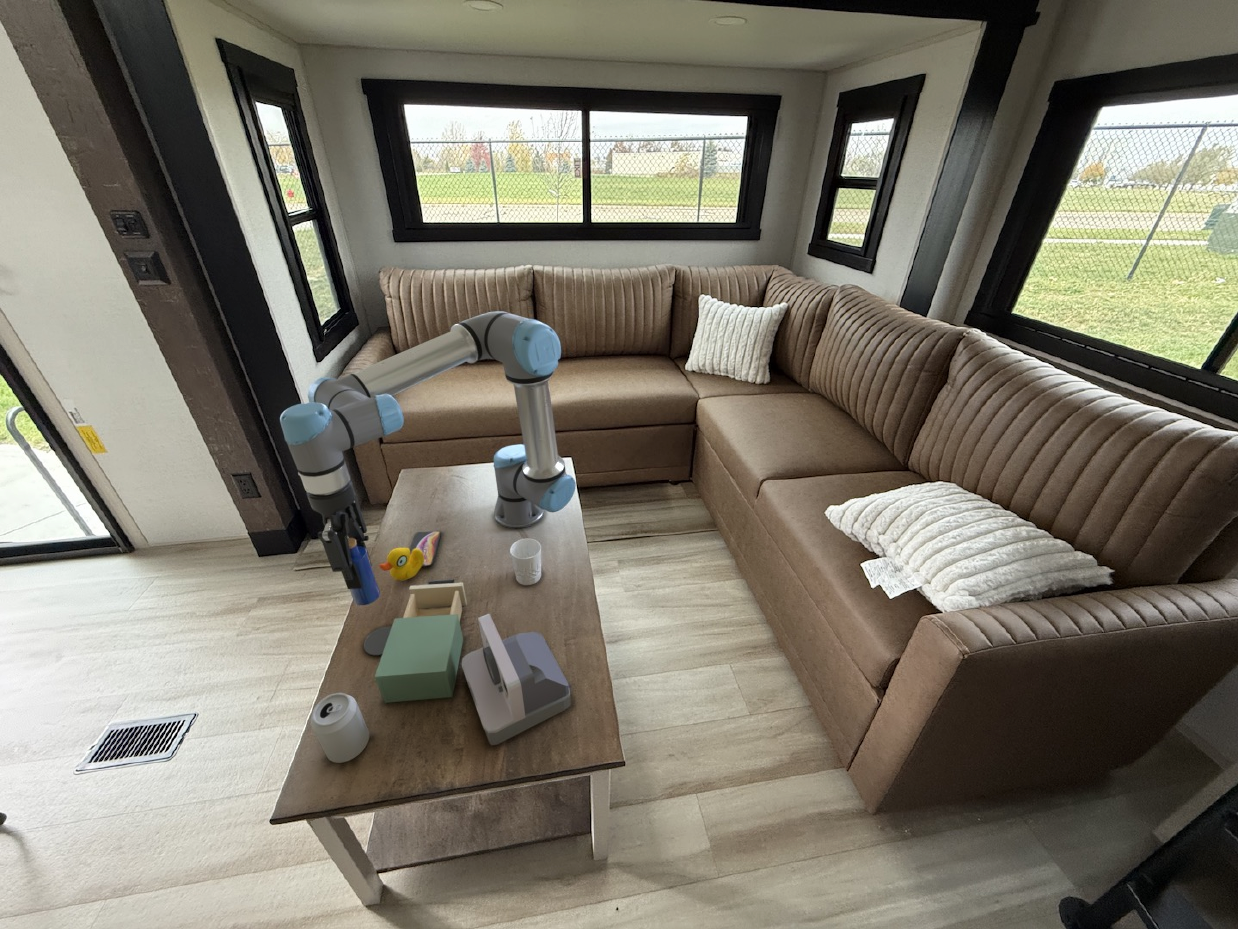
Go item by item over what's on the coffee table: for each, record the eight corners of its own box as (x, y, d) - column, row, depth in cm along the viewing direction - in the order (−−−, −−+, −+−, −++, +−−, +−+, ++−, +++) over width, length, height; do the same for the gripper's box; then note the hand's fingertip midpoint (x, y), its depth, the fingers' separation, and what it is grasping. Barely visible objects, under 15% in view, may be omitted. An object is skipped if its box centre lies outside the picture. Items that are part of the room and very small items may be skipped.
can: (336, 727, 97) (318, 690, 91) (376, 724, 98) (360, 687, 92) (320, 767, 91) (299, 730, 85) (362, 764, 92) (345, 726, 85)
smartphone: (441, 530, 147) (431, 565, 135) (442, 532, 148) (432, 567, 135) (415, 531, 146) (403, 567, 134) (416, 534, 147) (403, 569, 134)
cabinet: (402, 644, 114) (394, 618, 110) (463, 639, 116) (457, 614, 111) (384, 703, 102) (374, 677, 97) (452, 697, 103) (445, 671, 99)
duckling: (394, 594, 127) (384, 567, 121) (382, 584, 130) (372, 557, 124) (431, 568, 135) (424, 541, 129) (419, 559, 137) (411, 532, 132)
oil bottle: (383, 586, 109) (365, 533, 101) (375, 604, 105) (357, 550, 97) (358, 588, 109) (339, 534, 101) (350, 606, 104) (329, 551, 96)
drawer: (419, 593, 126) (414, 573, 123) (469, 589, 128) (465, 570, 124) (401, 651, 111) (394, 631, 108) (458, 647, 113) (453, 626, 109)
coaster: (370, 628, 118) (370, 627, 118) (405, 626, 119) (405, 625, 118) (359, 657, 111) (358, 656, 111) (396, 654, 112) (396, 653, 112)
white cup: (537, 589, 129) (535, 560, 124) (509, 584, 131) (505, 556, 125) (547, 568, 136) (545, 540, 131) (520, 564, 137) (516, 536, 132)
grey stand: (462, 662, 110) (451, 615, 103) (552, 636, 117) (549, 590, 109) (474, 753, 94) (462, 706, 86) (579, 717, 100) (577, 670, 92)
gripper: (326, 460, 99) (356, 548, 111) (284, 516, 84) (324, 612, 96) (365, 459, 100) (391, 547, 112) (331, 514, 84) (365, 609, 97)
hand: (360, 576), depth 104 cm, fingers closed on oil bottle, 5 cm apart
